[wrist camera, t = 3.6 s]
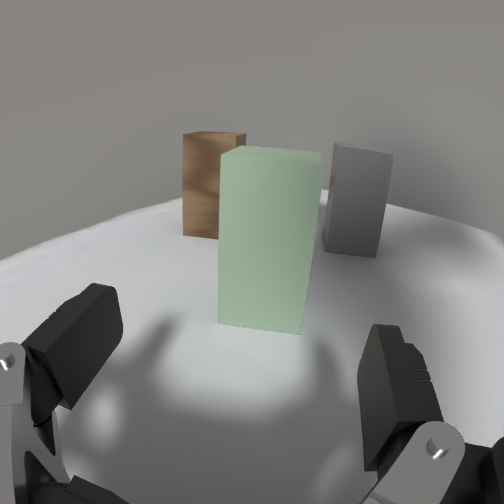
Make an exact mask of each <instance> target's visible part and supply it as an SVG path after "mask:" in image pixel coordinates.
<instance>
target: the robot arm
mask: <svg viewBox="0 0 504 504" xmlns="http://www.w3.org/2000/svg"><path fill="white" fill-rule="evenodd" d="M122 335H123V323H122V318H121V313H120V307H119V302H118V296H117V292H116V289H115V288H114V287H112V286H107V285H102V284H97V283H92V284H90V285H89V286H88V287H87V288H86V289H85V290H84V291H82V292H81V293H80V294H79V295H77V296H75V297H73V298H71V299H69V300H67V301H65V302H64V303H63V304H62V305H61V306H60V307H59V308H58V309H57V310H56V312H53V313H52V314H51V315H50V316H49V319H46V320H45V321H44V322H43V323H42V324H41V325H40V326H39V327H38V328H37V329H36V330H35V331H34V332H33V333H32V334H31V335H30V336H29V337H28V338H27V339H26V340H25V341H24V342H23V343H22V344H18V343H14V342H9V343H4V344H1V345H0V504H129V503H128V502H126V501H125V500H123V499H122V498H120V497H119V496H117V495H116V494H115V493H113V492H111V491H109V490H106V489H104V488H102V487H99V486H97V485H95V484H93V483H90V482H88V481H86V480H84V479H82V478H80V477H78V476H76V475H74V476H73V478H72V480H71V481H70V478H69V476H68V474H67V472H66V470H65V468H64V465H63V461H62V455H61V448H60V441H59V433H58V423H57V415H56V412H55V410H54V409H55V408H56V407H57V405H60V406H63V407H65V408H67V409H69V410H72V408H73V407H74V405H75V404H76V403H77V401H78V400H79V398H80V397H81V395H82V394H83V393H84V391H85V390H86V388H87V387H88V385H89V384H90V383H91V381H92V380H93V378H94V377H95V376H96V374H97V373H98V372H99V370H100V369H101V367H102V366H103V365H104V363H105V362H106V360H107V359H108V358H109V356H110V355H111V354H112V352H113V351H114V350H115V348H116V347H117V346H118V344H119V343H120V341H121V338H122ZM430 380H431V378H430V375H429V373H428V371H427V367H426V364H425V361H424V358H423V355H422V354H421V353H420V352H419V351H418V350H417V349H416V347H415V346H414V345H413V344H410V343H404V340H403V337H402V334H401V331H400V328H399V327H398V326H393V325H380V324H373V326H372V327H371V330H370V333H369V336H368V339H367V342H366V345H365V348H364V351H363V354H362V357H361V360H360V363H359V368H358V375H357V383H358V392H359V402H360V413H361V424H362V437H363V452H364V470H365V471H377V473H378V481H377V482H376V484H375V485H374V486H373V487H372V489H371V490H370V491H369V492H368V493H367V495H366V496H365V497H364V498H363V499H362V501H361V502H360V503H359V504H504V437H502V438H501V439H499V440H498V441H497V442H496V443H495V445H494V446H493V447H492V448H489V447H484V446H478V445H473V444H468V443H465V442H464V439H463V437H462V435H461V434H460V432H459V431H458V430H457V429H456V428H454V427H453V426H451V425H450V424H447V423H445V422H444V420H443V417H442V413H441V410H440V407H439V403H438V400H437V397H436V394H435V391H434V388H433V384H432V382H430Z"/></svg>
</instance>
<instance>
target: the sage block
mask: <svg viewBox="0 0 504 504" xmlns="http://www.w3.org/2000/svg"><path fill="white" fill-rule="evenodd" d="M323 170H324V163H323V160H322V157H321V154H320V153H317V152H309V151H299V150H290V149H278V148H267V147H254V146H239V147H237V148H234V149H232V150H230V151H228V152H226V153H224V154H221V166H220V199H219V249H218V323H219V324H225V325H232V326H238V327H245V328H252V329H259V330H267V331H274V332H282V333H290V334H299V335H300V332H301V326H302V320H303V315H304V309H305V303H306V296H307V290H308V284H309V277H310V271H311V264H312V257H313V250H314V243H315V236H316V228H317V221H318V213H319V205H320V196H321V187H322V179H323Z"/></svg>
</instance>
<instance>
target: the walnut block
mask: <svg viewBox="0 0 504 504" xmlns="http://www.w3.org/2000/svg"><path fill="white" fill-rule="evenodd" d="M239 146H246V133H229V132H201V131H200V132H194V133H189V134H184V135H183V235H185V236H194V237H203V238H211V239H219V199H220V166H221V154H224V153H226V152H228V151H230V150H232V149H234V148H237V147H239Z"/></svg>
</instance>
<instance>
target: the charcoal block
mask: <svg viewBox="0 0 504 504" xmlns="http://www.w3.org/2000/svg"><path fill="white" fill-rule="evenodd" d="M392 163H393V154H391V153H389V152H387V151H385V150H382V149H379V148H373V147H367V146H361V145H354V144H347V143H341V142H334V149H333V158H332V168H331V177H330V186H329V193H328V201H327V209H326V216H325V224H324V231H323V237H324V245H325V252H332V253H341V254H349V255H357V256H365V257H374V258H375V257H376V252H377V248H378V243H379V238H380V233H381V228H382V223H383V218H384V213H385V207H386V201H387V195H388V189H389V183H390V177H391V169H392Z"/></svg>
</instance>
